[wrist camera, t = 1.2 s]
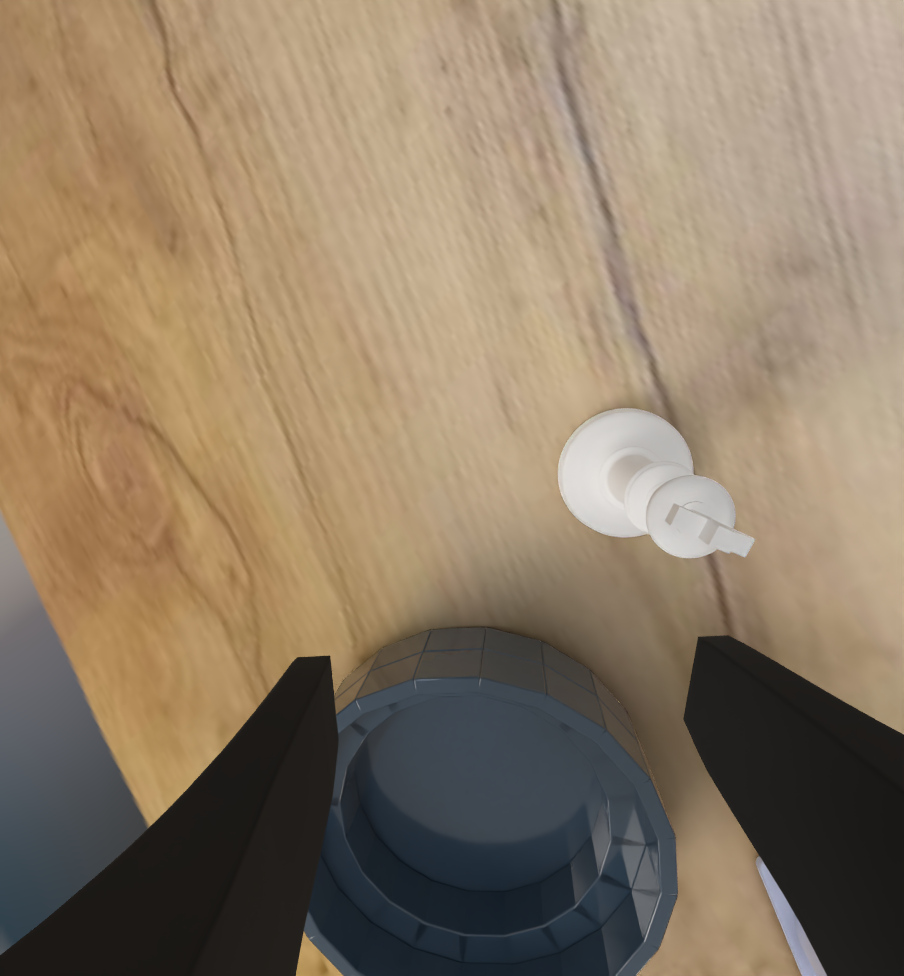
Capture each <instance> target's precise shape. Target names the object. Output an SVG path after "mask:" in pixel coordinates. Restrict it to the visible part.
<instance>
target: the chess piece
mask: <svg viewBox="0 0 904 976" xmlns="http://www.w3.org/2000/svg"><path fill="white" fill-rule="evenodd" d="M558 483H559V488H560V492H561V495H562V498H563V500H564V502H565V504H566V506H567V507H568V509H569V510H570V511H571V513H572V514H573V515H574V516H575V517H576V518H577V519H578V520H579V521H580V522H582V523H583V524H584V525H586V526H588V527H589V528H591V529H593V530H595V531H597V532H599V533H602V534H605V535H608V536H613V537H623V538H627V537H637V536H642V535H645V534H650V536H651V538H652V539H653V541H654V542H655V543H656V544H657V545H658V546H659V547H660V548H661V549H662V550H664V551H665V552H667V553H669V554H671V555H673V556H676V557H681V558H698V557H703V556H706V555H708V554H711V553H712V552H714V551H716V550H717V549H719V550H721V551H723V552H726V553H728V554H729V553H730V552H733V553H736V554H738V555H740V556H743V557H746V555H747V553H748V552H749V550H750V548H751V546H752V545H753V543H754V541H755V539H754V538H752V537H750V536H749V535H747V534H745V533H742V532H740V531H738V530H735V529H733V528H734V525H735V518H736V512H735V506H734V503H733V500H732V498H731V496H730V495H729V493H728V492H727V490H726V489H725V488H724V487H723V486H722V485H720V484H719V483H717V482H716V481H714V480H712V479H710V478H707V477H704V476H699V475H694V470H693V461H692V456H691V453H690V450H689V448H688V446H687V444H686V442H685V440H684V439H683V437H682V436H681V434H680V433H679V432H678V431H677V430H676V429H675V428H674V427H673V426H672V425H671V424H669V423H668V422H667V421H666V420H664V419H663V418H661V417H659V416H657V415H655V414H653V413H651V412H648V411H645V410H640V409H634V408H619V409H613V410H608V411H605V412H602V413H600V414H597V415H595V416H593V417H592V418H590V419H588V420H587V421H585V422H584V423H583V424H582V425H580V426H579V427H578V428H577V429H576V430H575V431H574V433H573V434H572V435H571V436H570V438H569V439H568V441H567V442H566V444H565V446H564V448H563V450H562V453H561V456H560V460H559V465H558Z"/></svg>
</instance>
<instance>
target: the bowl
mask: <svg viewBox="0 0 904 976" xmlns="http://www.w3.org/2000/svg"><path fill="white" fill-rule="evenodd" d="M334 699H335V709H336V718H337V728H338V738H339V743H338V753H337V762H336V772H335V781H334V790H333V797H332V802H331V807H330V812H329V816H328V821H327V826H326V830H325V835H324V840H323V844H322V849H321V853H320V858H319V863H318V867H317V872H316V876H315V881H314V886H313V890H312V895H311V899H310V904H309V909H308V913H307V918H306V922H305V927H304V932H305V934H306V936H307V937H308V938H309V940H310V941H311V942H312V943H313V944H314V945H315V946H316V947H317V948H318V949H319V950H320V952H321V953H322V954H323V955H324V956H325V957H326V958H327V959H328V960H329V961H330V962H331V963H332V964H333V965H334V966H335V967H336V968H337V969H338V970H339V971H340V972H341V973H342V975H343V976H636V975H637V974H638V973H639V972H640V971H641V970H642V968H643V967H644V966H645V965H646V964H647V963H648V961H649V960H650V959H651V958H652V957H653V956H654V954H655V953H656V952H657V951H658V950H659V947H660V945H661V943H662V940H663V937H664V934H665V931H666V928H667V925H668V923H669V920H670V917H671V914H672V911H673V908H674V905H675V902H676V900H677V894H678V881H677V858H676V837H675V833H674V830H673V828H672V825H671V822H670V820H669V817H668V814H667V811H666V809H665V806H664V803H663V801H662V798H661V795H660V793H659V790H658V787H657V784H656V782H655V779H654V776H653V774H652V771H651V768H650V766H649V763H648V760H647V757H646V755H645V753H644V750H643V748H642V746H641V743H640V741H639V739H638V736H637V734H636V732H635V729H634V727H633V725H632V722H631V720H630V718H629V715H628V713H627V711H626V709H625V708H624V707H623V706H622V705H621V704H620V703H619V702H618V700H617V699H616V698H615V697H614V696H613V695H612V694H611V693H610V691H609V690H608V689H607V688H606V687H605V686H604V685H603V684H602V683H601V681H600V680H599V679H598V678H597V677H596V676H595V675H594V674H593V672H592V671H591V670H589V669H588V668H586V667H585V666H583V665H581V664H580V663H578V662H576V661H575V660H573V659H571V658H570V657H568V656H566V655H565V654H563V653H561V652H560V651H558V650H556V649H555V648H553V647H551V646H550V645H548V644H546V643H545V642H543V641H539V640H536V639H532V638H528V637H524V636H520V635H516V634H512V633H508V632H504V631H500V630H496V629H492V628H488V627H487V628H485V627H473V628H453V629H433V630H428V631H425V632H422V633H420V634H417V635H414V636H412V637H409V638H406V639H404V640H401V641H398V642H396V643H393V644H390V645H388V646H385V647H383V648H382V649H380V650H379V651H378V652H377V653H375V654H374V655H373V656H372V657H370V658H369V659H368V660H367V661H366V662H364V663H363V664H362V665H361V666H360V667H358V668H357V669H356V670H355V671H353V672H352V673H351V674H350V675H349V676H347V677H346V678H345V679H344V680H343V682H342V683H341V685H340V687H339V688H338V690H337V692H336V693H335V695H334Z"/></svg>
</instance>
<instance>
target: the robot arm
mask: <svg viewBox="0 0 904 976" xmlns="http://www.w3.org/2000/svg"><path fill="white" fill-rule="evenodd" d="M684 721H685V724H686V726H687V728H688V731H689V733H690V735H691V737H692V740H693V742H694V744H695V746H696V749H697V751H698V753H699V755H700V757H701V759H702V761H703V763H704V765H705V767H706V769H707V771H708V773H709V775H710V776H711V778H712V780H713V781H714V783H715V785H716V786H717V788H718V790H719V791H720V793H721V794H722V796H723V798H724V799H725V801H726V803H727V804H728V806H729V808H730V809H731V811H732V813H733V814H734V816H735V817H736V819H737V821H738V822H739V824H740V825H741V827H742V829H743V830H744V832H745V833H746V835H747V837H748V838H749V840H750V841H751V843H752V845H753V846H754V848H755V850H756V851H757V853H758V854H759V856H758V857H757V859H756V866H757V869H758V871H759V874H760V876H761V878H762V881H763V883H764V886H765V888H766V891H767V893H768V895H769V898H770V900H771V903H772V905H773V908H774V910H775V912H776V915H777V917H778V920H779V922H780V925H781V927H782V929H783V932H784V934H785V937H786V939H787V942H788V944H789V946H790V949H791V951H792V954H793V956H794V959H795V961H796V963H797V966H798V968H799V971H800V973H801V976H904V735H903V734H902V733H900V732H898V731H896V730H894V729H892V728H890V727H888V726H887V725H885V724H883V723H881V722H879V721H877V720H875V719H874V718H872V717H870V716H868V715H867V714H865V713H863V712H861V711H859V710H858V709H856V708H854V707H852V706H851V705H849V704H847V703H845V702H843V701H842V700H840V699H838V698H837V697H835V696H833V695H831V694H830V693H828V692H826V691H825V690H823V689H821V688H819V687H818V686H816V685H814V684H813V683H811V682H809V681H807V680H806V679H804V678H802V677H801V676H799V675H797V674H796V673H794V672H792V671H791V670H789V669H787V668H785V667H784V666H782V665H780V664H779V663H777V662H775V661H774V660H772V659H770V658H768V657H767V656H765V655H763V654H762V653H760V652H758V651H756V650H755V649H753V648H751V647H749V646H747V645H746V644H744V643H742V642H740V641H738V640H736V639H734V638H732V637H730V636H728V635H727V636H707V637H698V641H697V647H696V652H695V658H694V663H693V669H692V674H691V680H690V686H689V691H688V697H687V702H686V708H685V713H684ZM338 743H339V738H338V728H337V718H336V709H335V699H334V689H333V679H332V670H331V660H330V656H315V657H297V658H296V659H295V660H294V661H293V662H292V663H291V665H290V666H289V667H288V669H287V670H286V672H285V673H284V674H283V676H282V677H281V678H280V680H279V681H278V682H277V684H276V685H275V686H274V688H273V689H272V690H271V691H270V693H269V694H268V695H267V697H266V698H265V699H264V700H263V702H262V703H261V704H260V706H259V707H258V708H257V709H256V711H255V712H254V713H253V714H252V716H251V717H250V718H249V719H248V720H247V722H246V723H245V724H244V725H243V727H242V728H241V729H240V730H239V731H238V733H237V734H236V735H235V736H234V737H233V739H232V740H231V741H230V742H229V743H228V745H227V746H226V747H225V748H224V749H223V750H222V752H221V753H220V754H219V755H218V756H217V757H216V758H215V759H214V760H213V761H212V763H211V764H210V765H209V766H208V767H207V768H206V769H205V770H204V771H203V772H202V774H201V775H200V776H199V777H198V778H197V779H196V780H195V781H194V782H193V784H192V785H191V786H190V787H189V788H188V789H187V790H186V791H185V792H184V793H183V794H182V795H181V796H180V797H179V798H178V799H177V800H176V801H175V802H174V803H173V805H172V806H171V807H170V808H169V809H168V810H167V811H166V812H165V813H164V814H163V815H162V816H161V817H160V818H159V819H158V820H157V821H156V822H155V823H153V824H152V825H151V826H150V827H149V828H148V829H147V830H146V831H145V832H144V833H143V834H142V835H141V836H140V837H139V838H138V839H137V840H136V841H135V842H134V843H133V844H132V845H131V846H129V847H128V848H127V849H126V850H125V851H124V852H123V853H122V854H121V855H120V856H119V857H118V858H116V859H115V860H114V861H113V862H112V863H111V864H109V865H108V866H107V867H106V868H105V869H104V870H103V871H102V872H100V873H99V874H98V875H97V876H96V877H95V878H94V879H92V880H91V881H90V882H89V883H88V884H87V885H85V886H84V887H83V888H82V889H81V890H80V891H78V892H77V893H76V894H75V895H74V896H73V897H71V898H70V899H69V900H68V901H67V902H66V903H65V904H63V905H62V906H61V907H60V908H59V909H57V910H56V911H55V912H54V913H53V914H52V915H50V916H49V917H48V918H47V919H45V920H44V921H43V922H42V923H41V924H39V925H38V926H37V927H36V928H34V929H33V930H32V931H30V932H29V933H28V934H27V935H25V936H24V937H23V938H22V939H20V940H19V941H18V942H17V943H15V944H14V945H13V946H11V947H10V948H9V949H8V950H6V951H5V952H4V953H3V954H1V955H0V976H296V970H297V964H298V959H299V953H300V948H301V942H302V936H303V932H304V927H305V922H306V918H307V913H308V909H309V904H310V899H311V895H312V890H313V886H314V881H315V876H316V872H317V867H318V863H319V858H320V853H321V849H322V844H323V840H324V835H325V830H326V826H327V821H328V816H329V812H330V807H331V802H332V797H333V790H334V781H335V772H336V762H337V753H338Z"/></svg>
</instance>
